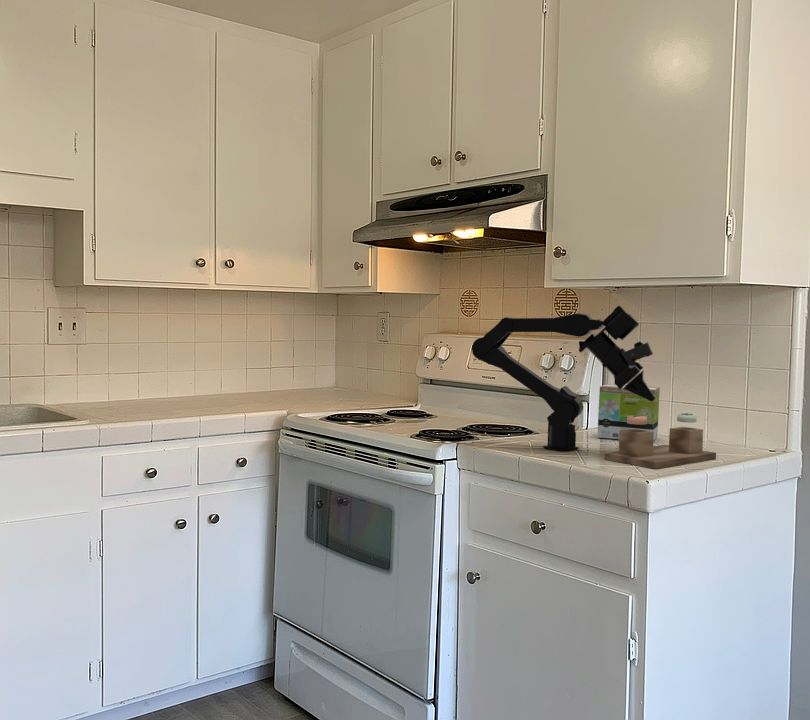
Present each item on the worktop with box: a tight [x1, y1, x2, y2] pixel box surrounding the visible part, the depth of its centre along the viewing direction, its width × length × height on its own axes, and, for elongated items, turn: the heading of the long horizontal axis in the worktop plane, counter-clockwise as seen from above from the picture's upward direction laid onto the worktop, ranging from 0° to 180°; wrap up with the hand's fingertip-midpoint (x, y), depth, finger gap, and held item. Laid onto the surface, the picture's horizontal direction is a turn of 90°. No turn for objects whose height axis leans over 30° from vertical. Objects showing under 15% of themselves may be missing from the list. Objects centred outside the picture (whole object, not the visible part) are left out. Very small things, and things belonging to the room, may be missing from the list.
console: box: [604, 426, 717, 470], centre depth 188 cm, size 14×24×7 cm, turn 128°
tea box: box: [597, 383, 660, 442], centre depth 221 cm, size 15×10×15 cm, turn 65°
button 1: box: [627, 415, 647, 425], centre depth 185 cm, size 4×4×2 cm
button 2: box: [676, 412, 698, 424], centre depth 191 cm, size 4×4×2 cm
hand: (653, 400), depth 193 cm, fingers closed
